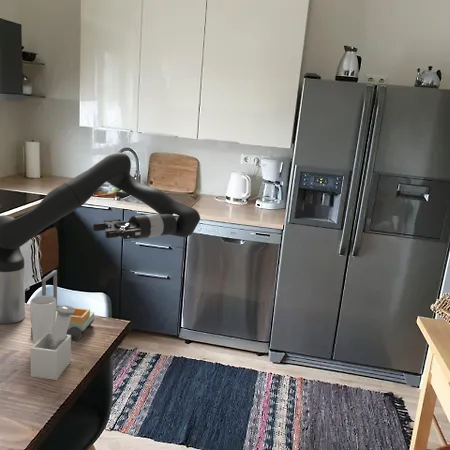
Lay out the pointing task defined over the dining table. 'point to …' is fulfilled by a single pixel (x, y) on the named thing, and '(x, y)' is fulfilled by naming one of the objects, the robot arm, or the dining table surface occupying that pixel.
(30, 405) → the dining table surface
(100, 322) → the dining table surface
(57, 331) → the steel pin
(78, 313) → the trolley
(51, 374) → the bin
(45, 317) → the drinking glass
